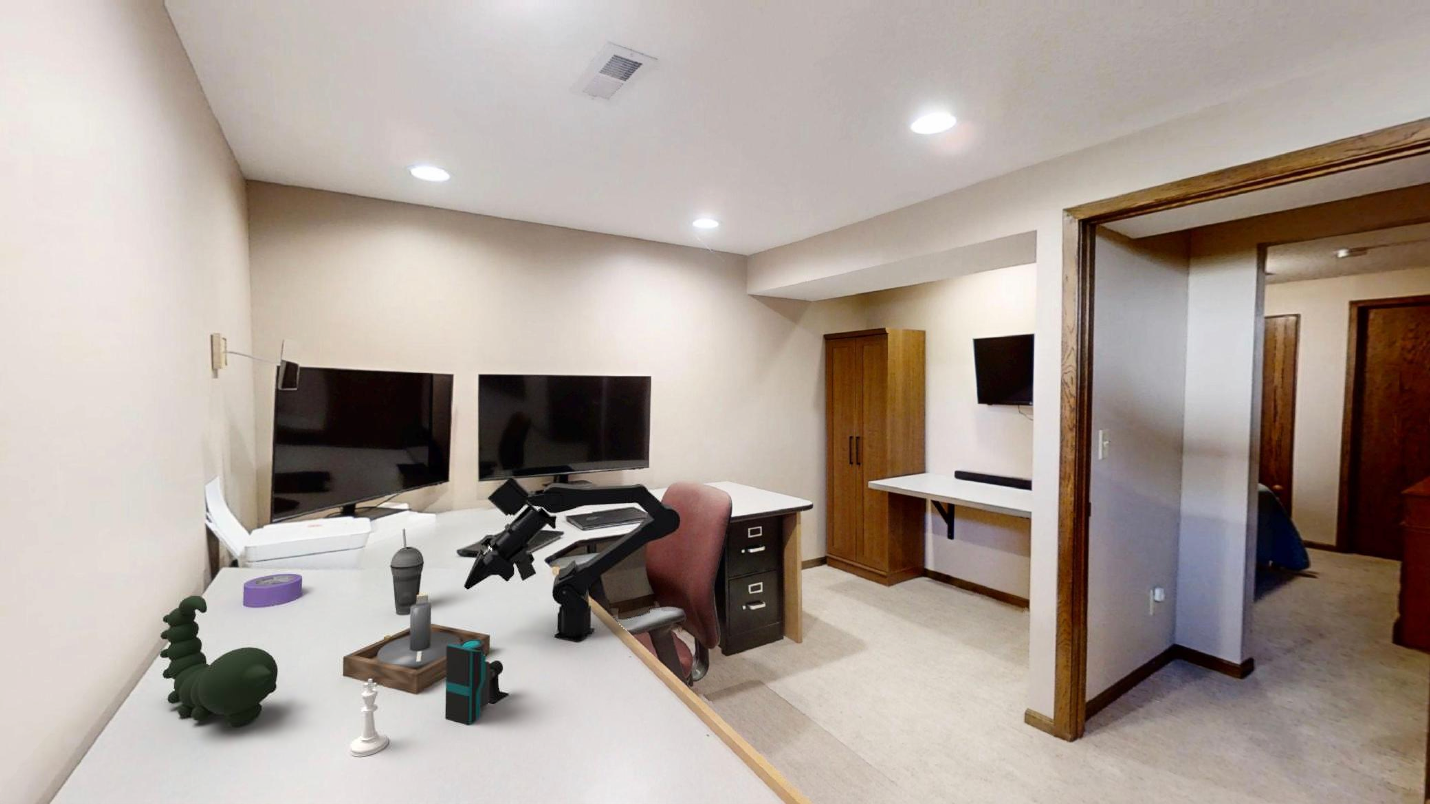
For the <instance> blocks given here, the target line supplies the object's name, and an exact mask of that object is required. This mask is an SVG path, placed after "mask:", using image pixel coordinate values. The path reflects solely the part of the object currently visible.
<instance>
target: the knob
mask: <svg viewBox="0 0 1430 804" xmlns="http://www.w3.org/2000/svg"><path fill="white" fill-rule="evenodd" d="M409 617H410V618H409V624H410V625H409V628H410V635H409V636H406V637H402V638H399V639H397V640H394V641H392V642H390V643H388V644H386V645H385V646H383V647H382V648H381V649H380V650H379V651H378V654H377V661H380V662H384V663H389V664H393V665H397V666H401V667H405V668H410V669H414V670H419V669H420V668H422V667H424V666H426V665H428V664H430V663H432V662H434V661H436V660H438V659H439V658H441V657H443V656H445V655H446V645H448V644H453V645H457V646H459V644H460V638H459V637H458V636H456V635H454V634H451V633H445V632H431V624H432V604H431V603H430V602H429V594H428V593H422V594H421V593H420V594H419V595H417V602H416V604H415V605H413V606H411V607H410V614H409Z"/></svg>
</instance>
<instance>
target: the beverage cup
mask: <svg viewBox="0 0 1430 804" xmlns="http://www.w3.org/2000/svg"><path fill="white" fill-rule="evenodd" d="M406 538H407V537H406V529H405V528H402V539H403V548H400V549H398V550H397V551H396V552H395V554H393V556H392V559H391V561H390V564H389V565H390V566H389V568H390V570H391V575H392V583H393V584H392V585H393V596H394V607H395V614H396V615H398V616H408V615H410V607H411V606H413V605H415V604H416V602H417V595H420V589H421V583H422V582H421V580H422V572H423V569H424V564H425V561H424V556H423V554H422V552H421V551H420V550H419V549H418V548H416V547H414V546H407V539H406Z"/></svg>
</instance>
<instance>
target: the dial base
mask: <svg viewBox="0 0 1430 804" xmlns="http://www.w3.org/2000/svg"><path fill="white" fill-rule="evenodd" d="M431 632H445V633H451V634H454V635H456V636H458V637H459V638H460V643H462V642H463V641H466V640H470V639H481V640H483V641H484V655H485V656H486V655H487V654H489V653H490V652H491V649H490V648H491V646H490V645H491V634H486V633H481V632H476V631H471V630H466V629H460V628H455V627H449V626H445V625H439V624H436V623H431ZM409 635H410V627H408V628H406V629H404V630H401V631H399V632H397V633H394V634H392V635H390V634H388V635H386V636H384V637H383V639H381V640H379V641H377V642H374V643H372V644H370V645H367V646H364V647H363V648H360V649H358V650H356V651H353V652H351V653H349V654H346V655H344V656H342V676H343V677H347V678H351V679H354V680H359V681H362V682H365V683H368V680H369V679H372V683H377V685H378V686H383V687H385V688H389V689H392V690H393V689H394V690H398V691H401V692H405V693H409V694H412V695H418V694H419V693H421V692H423V691H426V689H428V688H430V687H432V686H433V685H435V684H437V683H438V682H440V681H443V679H446V655H445V656H443V657H441V658H439V659H438V660H436V661H434V662H432V663H430V664H428V665H426V666H424V667H422V668H420V669H419V670H414V669H410V668H405V667H401V666H397V665H393V664H389V663H384V662H380V661H377V654H378V651H379V650H380V649H381V648H382V647H383V646H385V645H386V644H388V643H390V642H392V641H394V640H397V639H399V638H402V637H406V636H409Z"/></svg>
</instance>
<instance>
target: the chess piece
mask: <svg viewBox="0 0 1430 804" xmlns="http://www.w3.org/2000/svg"><path fill="white" fill-rule="evenodd" d="M362 686H363V688H367V689H366V690H365V691H363V692H362V693H361V696H362V700H363V702H364V705H365V706H363V707H362V708H361V711H360V712H361V713H362V714H365V715H364V716H365V717H364V725H363V730H362V734H361V735H360V736H359V737H357V738H356V739H354V740H352V742H351V743H350V745H349V750H348V753H349V754H350V756H353V757H358V758H359V757H360V758H361V757H367V756H371V755H373V754H376V753H378V752H380V751H383V749H384V748H386V747H387V745H388V743H389V740H388V739H389V738H388V735H387V734H386V733H384V732H380V731H379V732H378V731H377V730H376V727H375V717H374V712H375V711H377V710H378V709H379V707H378V704H375V701H376V698H377V696H378V689H374V688H376V687H377V683H372V679H369V680H368V682H365V683H363V684H362Z"/></svg>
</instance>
